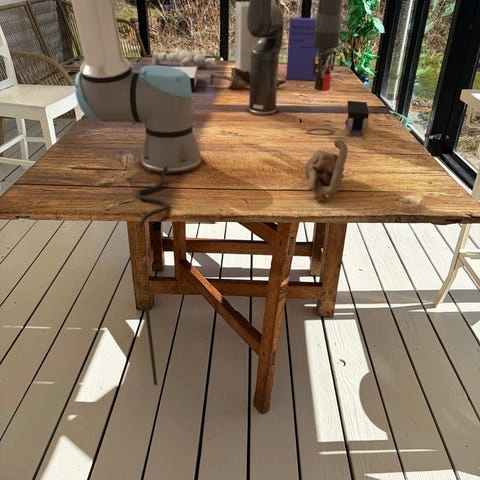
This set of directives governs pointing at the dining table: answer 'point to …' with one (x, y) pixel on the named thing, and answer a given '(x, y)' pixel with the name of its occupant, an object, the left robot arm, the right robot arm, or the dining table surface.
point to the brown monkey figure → (326, 171)
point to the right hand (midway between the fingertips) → (321, 87)
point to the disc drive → (190, 75)
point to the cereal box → (301, 49)
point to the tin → (325, 82)
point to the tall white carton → (243, 38)
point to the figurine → (239, 78)
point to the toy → (181, 58)
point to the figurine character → (357, 116)
